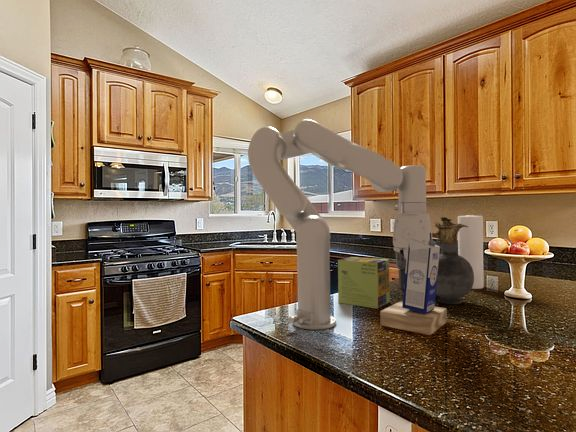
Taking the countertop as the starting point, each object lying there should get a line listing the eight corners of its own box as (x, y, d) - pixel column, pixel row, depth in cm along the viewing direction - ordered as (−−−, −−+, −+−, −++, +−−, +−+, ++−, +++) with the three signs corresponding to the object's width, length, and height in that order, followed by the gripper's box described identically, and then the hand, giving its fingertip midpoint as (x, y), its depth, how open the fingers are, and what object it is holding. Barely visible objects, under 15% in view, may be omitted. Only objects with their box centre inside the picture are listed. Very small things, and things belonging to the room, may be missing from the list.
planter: (433, 286, 154) (432, 244, 153) (420, 292, 144) (420, 247, 144) (403, 283, 162) (403, 243, 162) (390, 288, 153) (389, 245, 152)
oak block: (430, 335, 95) (430, 319, 95) (380, 325, 104) (380, 311, 104) (446, 322, 106) (446, 308, 106) (400, 313, 115) (400, 301, 115)
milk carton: (411, 303, 108) (417, 236, 108) (434, 309, 104) (440, 239, 103) (401, 307, 103) (407, 237, 102) (425, 313, 98) (432, 240, 98)
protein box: (378, 309, 121) (377, 262, 121) (337, 302, 130) (337, 259, 130) (390, 302, 129) (389, 259, 129) (351, 297, 139) (350, 256, 138)
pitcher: (473, 308, 120) (472, 217, 119) (413, 302, 129) (412, 217, 129) (475, 300, 129) (474, 216, 129) (419, 295, 139) (417, 216, 138)
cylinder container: (453, 285, 156) (452, 215, 156) (471, 283, 159) (470, 214, 159) (470, 289, 147) (469, 215, 147) (488, 287, 150) (488, 214, 150)
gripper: (381, 209, 107) (382, 272, 107) (435, 208, 97) (436, 277, 97) (392, 209, 112) (393, 269, 113) (444, 208, 102) (445, 273, 103)
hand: (413, 272), depth 105 cm, fingers closed on milk carton, 1 cm apart
